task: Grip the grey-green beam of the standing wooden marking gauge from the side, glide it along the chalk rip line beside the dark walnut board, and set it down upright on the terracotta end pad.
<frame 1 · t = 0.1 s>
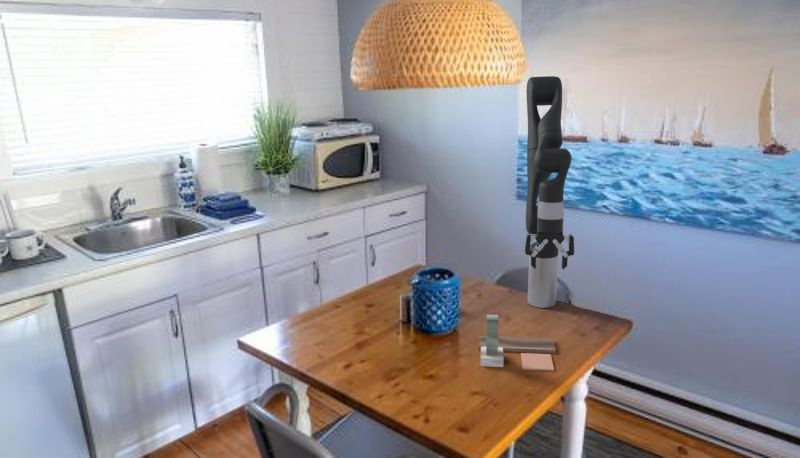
hand: (548, 268, 172), 17 cm above the table, tool pointing down, fingers open, 8 cm apart
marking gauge: (491, 360, 154), on the table
end pad: (536, 362, 153), on the table
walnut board: (516, 345, 162), on the table
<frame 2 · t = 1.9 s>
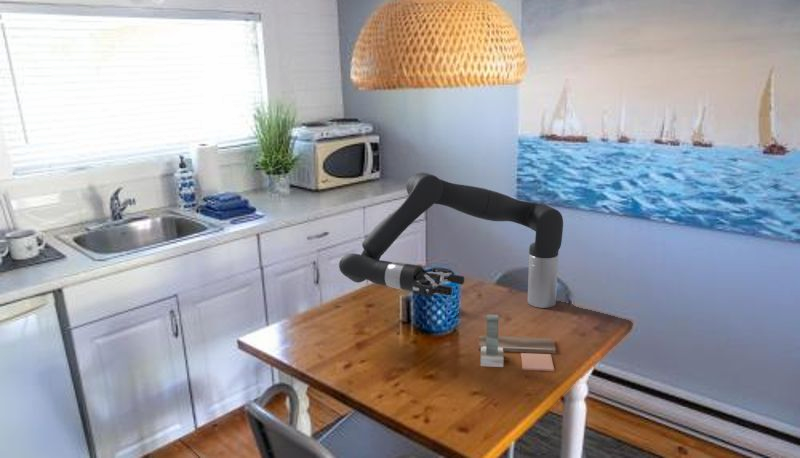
hand: (457, 285, 153), 20 cm above the table, tool horizontal, fingers open, 8 cm apart
nothing on the table moved.
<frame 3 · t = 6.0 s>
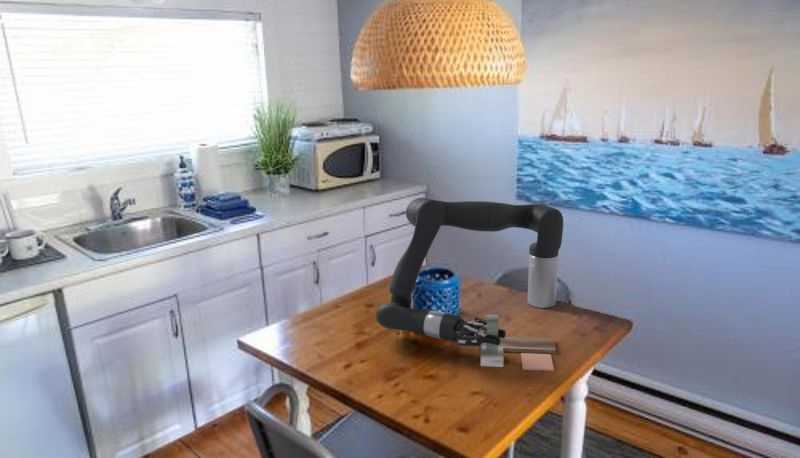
hand: (502, 337, 151), 8 cm above the table, tool horizontal, fingers closed on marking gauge, 3 cm apart
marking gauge: (491, 360, 154), on the table, touching gripper
everything else where it was.
when the fingers open (8 cm above the table, at t = 10.3 s): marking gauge stays where it is, resting on end pad.
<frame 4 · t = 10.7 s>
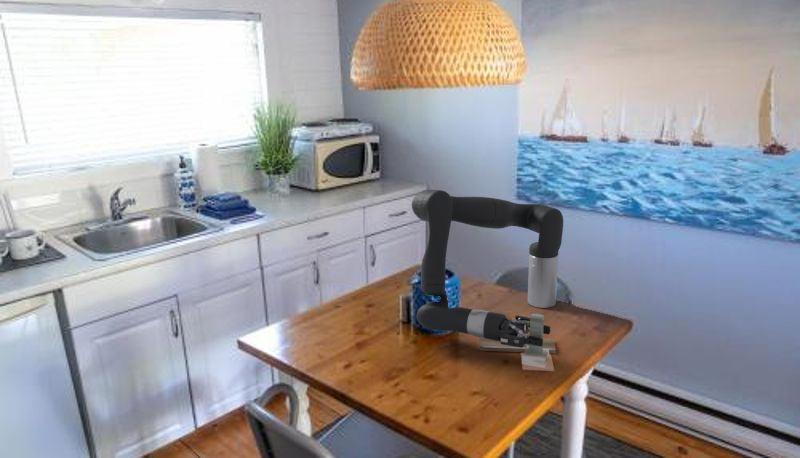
hand: (546, 336, 149), 8 cm above the table, tool horizontal, fingers open, 7 cm apart
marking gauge: (535, 360, 153), resting on end pad
everything else where it was.
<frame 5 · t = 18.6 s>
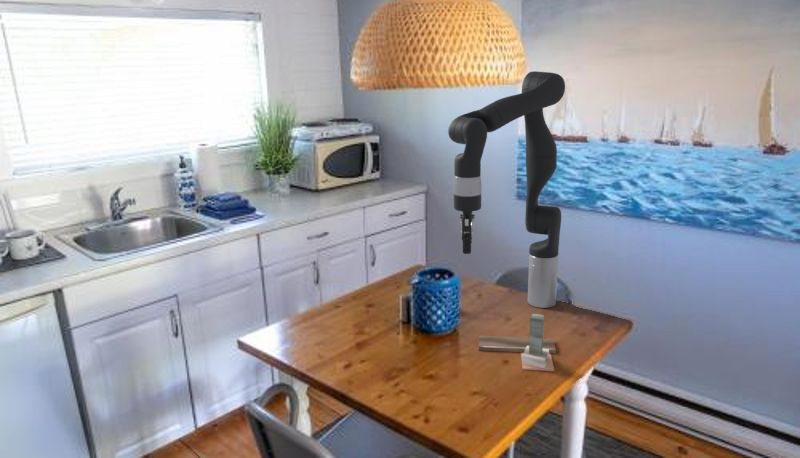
hand: (467, 248, 159), 28 cm above the table, tool pointing down, fingers open, 8 cm apart
nothing on the table moved.
at the end: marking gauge 0.4 cm from the target spot, point 0.5 cm above the table; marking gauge tilted 0°; the gripper is holding nothing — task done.
